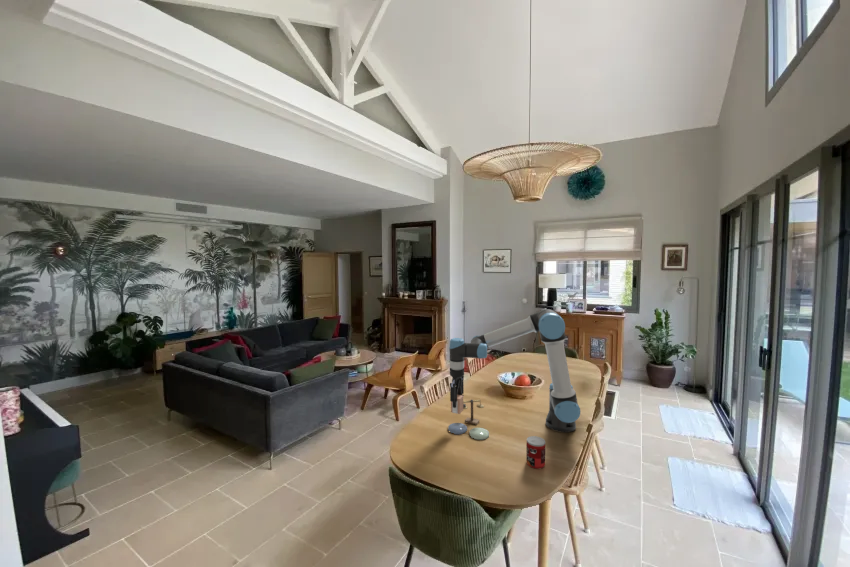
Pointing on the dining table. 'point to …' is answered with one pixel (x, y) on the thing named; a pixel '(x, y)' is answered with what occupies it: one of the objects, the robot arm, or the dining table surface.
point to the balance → (471, 420)
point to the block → (459, 404)
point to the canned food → (535, 452)
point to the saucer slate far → (457, 428)
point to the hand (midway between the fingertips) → (457, 410)
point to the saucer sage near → (479, 433)
